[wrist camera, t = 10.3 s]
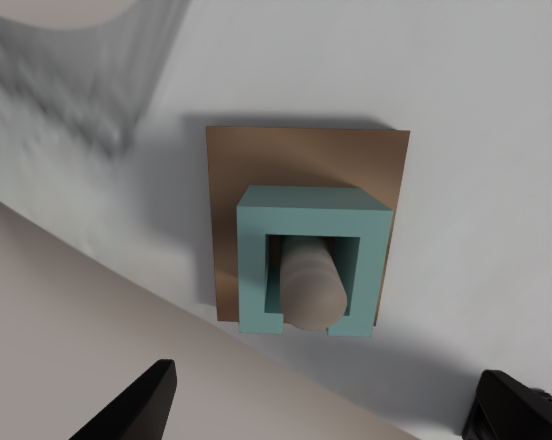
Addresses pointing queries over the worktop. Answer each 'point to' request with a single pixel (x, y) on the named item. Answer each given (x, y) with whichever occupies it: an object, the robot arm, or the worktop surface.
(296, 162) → the board
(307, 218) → the collar
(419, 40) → the worktop surface
